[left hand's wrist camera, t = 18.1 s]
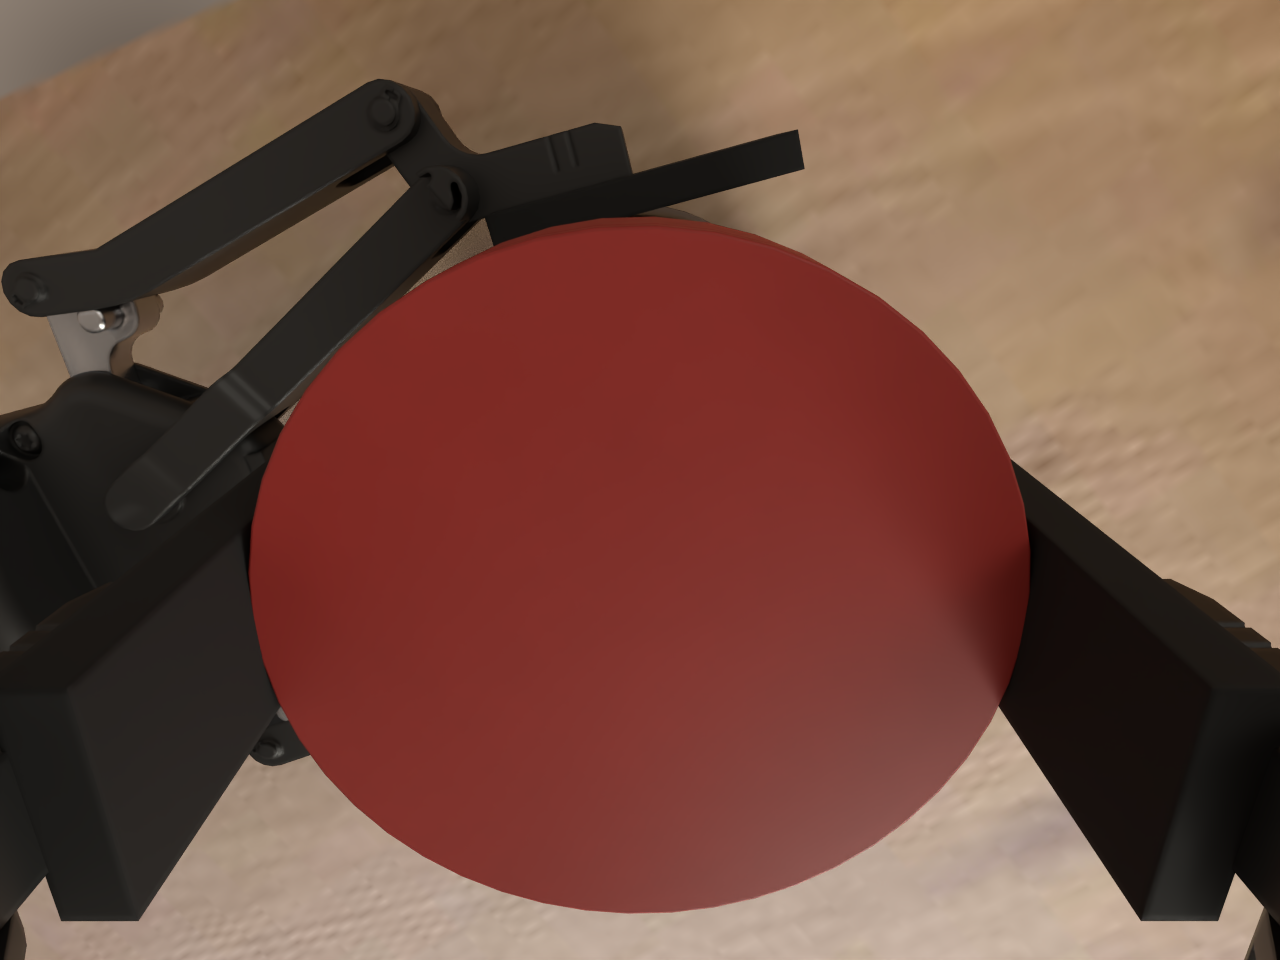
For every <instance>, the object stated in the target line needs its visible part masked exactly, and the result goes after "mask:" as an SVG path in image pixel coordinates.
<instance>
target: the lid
mask: <svg viewBox="0 0 1280 960" xmlns="http://www.w3.org/2000/svg"><path fill="white" fill-rule="evenodd" d="M248 575H249V587H250V597H251V603H252V609H253V615H254V620H255V625H256V630H257V635H258V639H259V644H260V649H261V654H262V659H263V663H264V667H265V669H266V672H267V674H268V677H269V680H270V682H271V685H272V687H273V690H274V692H275V695H276V697H277V700H278V702H279V704H280V706H281V708H282V709H283V711H284V713H285V715H286V717H287V718H288V720H289V722H290V724H291V726H292V727H293V729H294V731H295V733H296V735H297V736H298V738H299V740H300V741H301V743H302V744H303V745H304V747H305V748H306V749H307V751H308V752H309V753H310V755H311V756H312V757H313V759H314V760H315V762H316V763H317V764H318V766H319V767H320V768H321V770H322V771H323V772H324V774H325V775H326V776H327V777H328V778H329V779H330V780H331V781H332V782H333V783H334V784H335V785H336V786H337V788H338V789H339V790H340V791H341V792H342V793H343V794H344V795H345V796H346V797H347V798H348V799H349V800H350V801H351V802H352V803H353V804H354V805H355V806H356V807H357V808H358V809H359V810H361V811H362V812H363V813H364V814H365V815H367V816H368V817H369V818H370V819H371V820H373V821H374V822H375V823H376V824H377V825H379V826H380V827H381V828H382V829H384V830H385V831H386V832H387V833H389V834H390V835H392V836H393V837H395V838H396V839H398V840H399V841H401V842H402V843H404V844H405V845H407V846H408V847H410V848H411V849H413V850H414V851H416V852H417V853H419V854H420V855H422V856H424V857H425V858H427V859H429V860H431V861H433V862H435V863H437V864H439V865H441V866H443V867H445V868H447V869H449V870H451V871H453V872H455V873H457V874H459V875H461V876H463V877H465V878H468V879H471V880H473V881H476V882H478V883H481V884H483V885H486V886H489V887H491V888H494V889H496V890H499V891H501V892H505V893H509V894H512V895H516V896H519V897H523V898H527V899H530V900H534V901H538V902H541V903H546V904H552V905H557V906H563V907H569V908H575V909H581V910H588V911H601V912H615V913H671V912H680V911H688V910H696V909H705V908H713V907H718V906H722V905H727V904H732V903H736V902H741V901H745V900H750V899H754V898H758V897H761V896H764V895H767V894H770V893H773V892H776V891H779V890H782V889H785V888H788V887H791V886H794V885H797V884H799V883H802V882H804V881H806V880H808V879H811V878H813V877H815V876H817V875H820V874H822V873H824V872H826V871H829V870H831V869H833V868H835V867H837V866H839V865H841V864H842V863H844V862H846V861H848V860H849V859H851V858H853V857H855V856H856V855H858V854H860V853H862V852H863V851H865V850H867V849H868V848H870V847H872V846H873V845H875V844H876V843H878V842H879V841H880V840H882V839H883V838H884V837H886V836H887V835H888V834H890V833H891V832H893V831H894V830H895V829H897V828H898V827H899V826H901V825H902V824H903V823H905V822H906V821H908V820H909V819H910V818H911V817H912V816H913V815H914V814H915V813H916V812H917V811H918V810H919V809H920V808H922V807H923V806H924V805H925V804H926V803H927V802H928V801H929V800H930V799H931V798H932V797H933V796H935V795H936V794H937V793H938V792H939V791H940V790H941V788H942V787H943V786H944V785H945V784H946V783H947V781H948V780H949V779H950V778H951V777H952V775H953V774H954V773H955V772H956V771H957V770H958V768H959V767H960V766H961V765H962V764H963V762H964V761H965V760H966V759H967V758H968V756H969V754H970V753H971V751H972V750H973V748H974V747H975V745H976V744H977V742H978V741H979V739H980V738H981V736H982V735H983V733H984V731H985V730H986V728H987V727H988V725H989V724H990V722H991V720H992V718H993V716H994V714H995V712H996V710H997V708H998V705H999V703H1000V701H1001V699H1002V697H1003V695H1004V693H1005V691H1006V689H1007V687H1008V685H1009V682H1010V679H1011V676H1012V673H1013V670H1014V666H1015V663H1016V659H1017V655H1018V651H1019V646H1020V642H1021V637H1022V631H1023V626H1024V621H1025V616H1026V610H1027V605H1028V600H1029V594H1030V544H1029V537H1028V530H1027V523H1026V516H1025V508H1024V503H1023V499H1022V496H1021V493H1020V489H1019V486H1018V483H1017V479H1016V476H1015V473H1014V470H1013V466H1012V463H1011V460H1010V457H1009V455H1008V453H1007V451H1006V449H1005V446H1004V444H1003V442H1002V440H1001V438H1000V436H999V434H998V432H997V430H996V428H995V426H994V424H993V421H992V419H991V417H990V415H989V413H988V412H987V410H986V409H985V407H984V406H983V404H982V403H981V401H980V400H979V399H978V397H977V396H976V394H975V393H974V391H973V390H972V388H971V387H970V385H969V384H968V383H967V381H966V380H965V378H964V377H963V375H962V374H961V372H960V371H959V370H958V369H957V368H956V366H955V365H954V364H953V363H952V362H951V361H950V360H949V359H948V358H947V357H946V356H945V355H944V354H943V353H942V352H941V350H940V349H939V348H938V347H937V346H936V345H935V344H934V343H933V342H932V341H931V340H930V339H929V338H928V337H927V336H926V334H925V333H924V332H923V331H921V330H920V329H919V328H918V327H916V326H915V325H914V324H913V323H911V322H910V321H909V320H908V319H906V318H905V317H904V316H903V315H901V314H900V313H899V312H897V311H896V310H895V309H894V308H892V307H891V306H890V305H889V304H887V303H886V302H885V301H884V300H882V299H881V298H880V297H878V296H877V295H875V294H873V293H871V292H870V291H868V290H866V289H865V288H863V287H861V286H859V285H858V284H856V283H854V282H852V281H851V280H849V279H847V278H845V277H844V276H842V275H840V274H839V273H837V272H835V271H833V270H832V269H830V268H828V267H826V266H824V265H823V264H821V263H819V262H817V261H815V260H813V259H811V258H810V257H808V256H806V255H804V254H802V253H800V252H797V251H795V250H792V249H790V248H787V247H785V246H782V245H780V244H777V243H775V242H772V241H770V240H768V239H765V238H763V237H760V236H758V235H755V234H751V233H747V232H743V231H739V230H735V229H731V228H727V227H723V226H719V225H715V224H711V223H707V222H700V221H690V220H681V219H671V218H662V217H626V218H600V219H595V220H589V221H583V222H577V223H571V224H565V225H559V226H554V227H549V228H546V229H543V230H540V231H537V232H533V233H530V234H527V235H524V236H521V237H518V238H515V239H511V240H508V241H505V242H502V243H500V244H498V245H496V246H494V247H492V248H490V249H487V250H485V251H483V252H481V253H479V254H477V255H475V256H473V257H471V258H469V259H467V260H465V261H463V262H460V263H458V264H456V265H454V266H453V267H451V268H449V269H447V270H445V271H443V272H442V273H440V274H438V275H436V276H434V277H432V278H430V279H429V280H427V281H425V282H424V283H422V284H421V285H419V286H418V287H416V288H415V289H413V290H412V291H410V292H409V293H407V294H406V295H404V296H403V297H401V298H400V299H398V300H397V301H395V302H394V303H392V304H391V305H389V306H388V307H386V308H385V309H383V310H382V311H380V312H379V313H378V314H377V315H376V316H375V317H374V318H372V319H371V320H370V321H369V322H368V323H367V324H366V325H365V326H364V327H363V328H361V329H360V330H359V331H358V332H357V333H356V334H355V335H354V336H353V337H352V338H350V339H349V340H348V341H347V342H346V343H345V344H344V345H343V346H342V347H341V348H339V349H338V351H337V352H336V353H335V354H334V356H333V357H332V358H331V359H330V361H329V362H328V363H327V364H326V365H325V367H324V368H323V369H322V370H321V372H320V373H319V374H318V375H317V376H316V378H315V379H314V380H313V381H312V383H311V384H310V385H309V386H308V388H307V389H306V390H305V392H304V393H303V395H302V397H301V399H300V400H299V402H298V404H297V405H296V407H295V409H294V411H293V412H292V414H291V416H290V417H289V419H288V421H287V422H286V424H285V426H284V428H283V429H282V431H281V433H280V435H279V437H278V440H277V442H276V445H275V447H274V450H273V452H272V455H271V458H270V460H269V463H268V465H267V468H266V470H265V473H264V475H263V478H262V481H261V486H260V490H259V494H258V499H257V503H256V508H255V512H254V517H253V521H252V526H251V541H250V556H249V570H248Z"/></svg>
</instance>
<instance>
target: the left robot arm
mask: <svg viewBox="0 0 1280 960" xmlns="http://www.w3.org/2000/svg"><path fill="white" fill-rule="evenodd" d="M269 460H270V458H269V459H268V460H267V461H266V462H264V463H263V464H262V465H261V466H259V467H258V468H257V469H256V470H254V471H253V472H252V473H251V474H249V475H248V476H247V477H245V478H244V479H243V480H242V481H240V482H239V483H238V484H237V485H235V486H234V487H233V488H232V489H230V490H229V491H228V492H227V493H225V494H224V495H223V496H221V497H220V498H219V499H218V500H216V501H215V502H214V503H213V504H211V505H210V506H209V507H208V508H206V509H205V510H204V511H203V512H201V513H200V514H199V515H197V516H196V517H195V518H194V519H192V520H191V521H190V522H189V523H187V524H186V525H185V526H184V527H182V528H181V529H180V530H179V531H177V532H176V533H175V534H173V535H172V536H171V537H170V538H168V539H167V540H166V541H165V542H163V543H162V544H161V545H160V546H158V547H157V548H156V549H155V550H153V551H152V552H151V553H149V554H148V555H147V556H146V557H144V558H143V559H142V560H141V561H139V562H138V563H137V564H136V565H134V566H133V567H132V568H131V569H129V570H128V571H127V572H125V573H124V574H123V575H122V576H120V577H119V578H118V579H117V580H115V581H114V582H108V583H106V584H104V585H102V586H100V587H98V588H96V589H94V590H92V591H90V592H87V593H85V594H83V595H81V596H79V597H77V598H75V599H73V600H71V601H68V602H67V603H65V604H64V605H63V606H61V607H60V608H59V609H57V610H56V611H55V612H53V613H52V614H51V615H50V616H48V617H47V618H46V619H44V620H43V621H42V622H40V623H39V624H38V625H36V629H35V631H29V632H27V633H26V634H25V635H23V636H22V637H21V638H19V639H18V640H17V641H15V642H14V643H13V644H11V645H10V646H9V648H10V649H9V651H2V652H1V653H0V960H24V959H25V953H26V947H27V944H26V938H25V932H24V927H23V925H22V922H21V920H20V917H19V914H18V912H17V909H18V908H19V907H20V906H21V904H22V903H23V902H24V901H25V900H26V898H27V897H28V896H29V895H30V894H31V892H32V891H33V890H34V889H35V888H36V887H37V885H38V884H39V883H40V882H41V881H42V879H43V878H44V877H45V876H46V879H47V882H48V885H49V888H50V891H51V893H52V896H53V899H54V902H55V905H56V907H57V910H58V913H59V916H60V919H61V921H139V919H140V918H141V916H142V915H143V913H144V912H145V910H146V909H147V907H148V906H149V904H150V903H151V901H152V900H153V898H154V897H155V895H156V894H157V892H158V891H159V889H160V888H161V886H162V885H163V883H164V882H165V880H166V879H167V877H168V876H169V874H170V873H171V871H172V870H173V868H174V867H175V865H176V864H177V862H178V861H179V859H180V858H181V856H182V855H183V853H184V851H185V850H186V848H187V847H188V845H189V844H190V842H191V841H192V839H193V838H194V836H195V835H196V833H197V832H198V830H199V829H200V827H201V826H202V824H203V823H204V821H205V820H206V818H207V817H208V815H209V814H210V812H211V811H212V809H213V808H214V806H215V805H216V803H217V802H218V800H219V799H220V797H221V796H222V794H223V793H224V791H225V790H226V788H227V787H228V785H229V784H230V782H231V781H232V779H233V778H234V776H235V775H236V773H237V772H238V770H239V769H240V767H241V766H242V764H243V763H244V761H245V760H246V758H247V757H248V755H249V753H250V752H251V750H252V749H253V747H254V746H255V744H256V743H257V741H258V740H259V738H260V737H261V735H262V734H263V732H264V731H265V729H266V728H267V726H268V725H269V723H270V722H271V720H272V719H273V717H274V716H275V714H276V713H277V711H278V710H279V708H280V707H281V706H280V704H279V702H278V700H277V697H276V695H275V692H274V690H273V687H272V685H271V682H270V680H269V677H268V674H267V672H266V669H265V667H264V663H263V659H262V654H261V649H260V644H259V639H258V635H257V630H256V625H255V620H254V615H253V609H252V603H251V597H250V587H249V575H248V570H249V556H250V541H251V526H252V521H253V517H254V512H255V508H256V503H257V499H258V494H259V490H260V486H261V481H262V478H263V475H264V473H265V470H266V468H267V465H268V463H269ZM1010 460H1011V459H1010ZM1011 463H1012V466H1013V470H1014V473H1015V476H1016V479H1017V483H1018V486H1019V489H1020V493H1021V496H1022V499H1023V503H1024V508H1025V516H1026V523H1027V530H1028V537H1029V544H1030V594H1029V600H1028V605H1027V610H1026V616H1025V621H1024V626H1023V631H1022V637H1021V642H1020V646H1019V651H1018V655H1017V659H1016V663H1015V666H1014V670H1013V673H1012V676H1011V679H1010V682H1009V685H1008V687H1007V689H1006V691H1005V693H1004V695H1003V697H1002V699H1001V701H1000V703H999V705H998V706H999V708H1000V709H1001V711H1002V712H1003V714H1004V715H1005V717H1006V718H1007V720H1008V721H1009V723H1010V724H1011V726H1012V727H1013V729H1014V730H1015V732H1016V733H1017V735H1018V736H1019V738H1020V739H1021V741H1022V742H1023V744H1024V745H1025V747H1026V748H1027V750H1028V751H1029V753H1030V754H1031V756H1032V757H1033V759H1034V760H1035V762H1036V763H1037V765H1038V766H1039V768H1040V769H1041V771H1042V772H1043V774H1044V775H1045V777H1046V778H1047V780H1048V781H1049V783H1050V784H1051V786H1052V787H1053V789H1054V790H1055V792H1056V793H1057V795H1058V797H1059V798H1060V800H1061V801H1062V803H1063V804H1064V806H1065V807H1066V809H1067V810H1068V812H1069V813H1070V815H1071V816H1072V818H1073V819H1074V821H1075V822H1076V824H1077V825H1078V827H1079V828H1080V830H1081V831H1082V833H1083V834H1084V836H1085V837H1086V839H1087V840H1088V842H1089V843H1090V845H1091V846H1092V848H1093V849H1094V851H1095V852H1096V854H1097V855H1098V857H1099V858H1100V860H1101V861H1102V863H1103V864H1104V866H1105V867H1106V869H1107V870H1108V872H1109V873H1110V875H1111V876H1112V878H1113V879H1114V881H1115V882H1116V884H1117V885H1118V887H1119V888H1120V890H1121V892H1122V893H1123V895H1124V896H1125V898H1126V899H1127V901H1128V902H1129V904H1130V905H1131V907H1132V908H1133V910H1134V911H1135V913H1136V914H1137V916H1138V917H1139V919H1140V920H1141V921H1218V920H1219V917H1220V914H1221V911H1222V908H1223V906H1224V903H1225V900H1226V897H1227V894H1228V891H1229V889H1230V886H1231V883H1232V880H1233V877H1234V875H1235V873H1236V874H1237V875H1238V877H1239V878H1240V879H1241V880H1242V881H1243V883H1244V884H1245V885H1246V886H1247V887H1248V888H1249V890H1250V891H1251V892H1252V893H1253V894H1254V896H1255V897H1256V898H1257V899H1258V900H1259V902H1260V903H1261V904H1262V905H1263V906H1264V909H1263V912H1262V914H1261V917H1260V920H1259V922H1258V925H1257V927H1256V930H1255V933H1254V935H1253V938H1252V941H1251V943H1250V946H1249V949H1248V951H1247V954H1246V956H1245V959H1244V960H1280V649H1278V648H1272V647H1271V642H1269V641H1268V640H1267V639H1265V638H1264V637H1263V636H1261V635H1260V634H1259V633H1257V632H1256V631H1255V630H1253V629H1252V628H1245V623H1244V622H1243V621H1241V620H1240V619H1239V618H1237V617H1236V616H1235V615H1234V614H1232V613H1231V612H1230V611H1228V610H1227V609H1226V608H1224V607H1223V606H1222V605H1220V604H1219V603H1218V602H1216V601H1215V600H1214V599H1212V598H1210V597H1208V596H1205V595H1203V594H1201V593H1199V592H1197V591H1195V590H1193V589H1191V588H1188V587H1186V586H1184V585H1182V584H1180V583H1178V582H1176V581H1174V580H1172V579H1162V578H1160V577H1159V576H1158V575H1156V574H1155V573H1154V572H1153V571H1151V570H1150V569H1149V568H1148V567H1146V566H1145V565H1144V564H1143V563H1141V562H1140V561H1139V560H1138V559H1136V558H1135V557H1134V556H1132V555H1131V554H1130V553H1129V552H1127V551H1126V550H1125V549H1124V548H1122V547H1121V546H1120V545H1119V544H1117V543H1116V542H1115V541H1114V540H1112V539H1111V538H1110V537H1108V536H1107V535H1106V534H1105V533H1103V532H1102V531H1101V530H1100V529H1098V528H1097V527H1096V526H1095V525H1093V524H1092V523H1091V522H1090V521H1088V520H1087V519H1086V518H1084V517H1083V516H1082V515H1081V514H1079V513H1078V512H1077V511H1076V510H1074V509H1073V508H1072V507H1071V506H1069V505H1068V504H1067V503H1066V502H1064V501H1063V500H1062V499H1060V498H1059V497H1058V496H1057V495H1055V494H1054V493H1053V492H1052V491H1050V490H1049V489H1048V488H1047V487H1045V486H1044V485H1043V484H1042V483H1040V482H1039V481H1038V480H1036V479H1035V478H1034V477H1033V476H1031V475H1030V474H1029V473H1028V472H1026V471H1025V470H1024V469H1023V468H1021V467H1020V466H1019V465H1018V464H1016V463H1015V462H1014V461H1012V460H1011Z"/></svg>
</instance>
